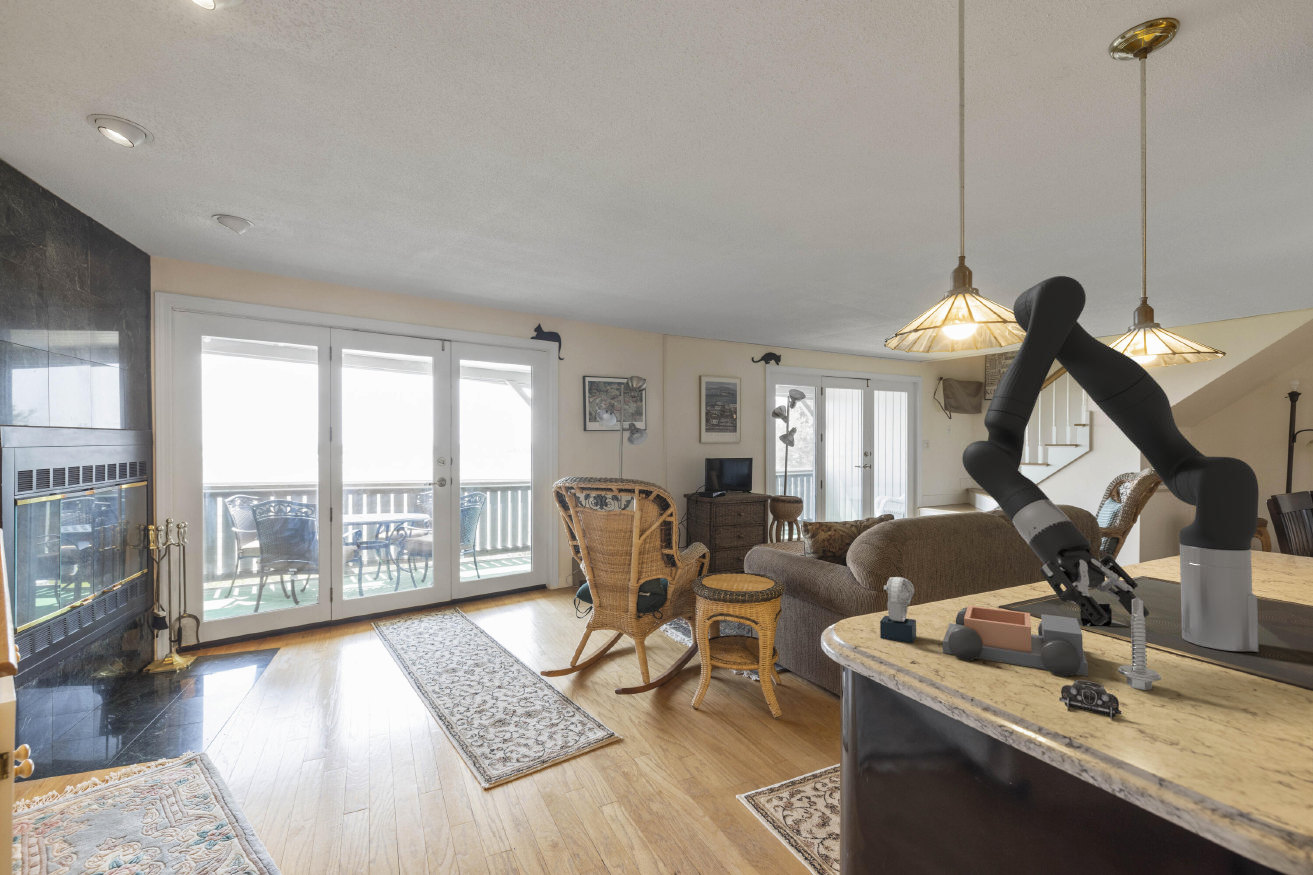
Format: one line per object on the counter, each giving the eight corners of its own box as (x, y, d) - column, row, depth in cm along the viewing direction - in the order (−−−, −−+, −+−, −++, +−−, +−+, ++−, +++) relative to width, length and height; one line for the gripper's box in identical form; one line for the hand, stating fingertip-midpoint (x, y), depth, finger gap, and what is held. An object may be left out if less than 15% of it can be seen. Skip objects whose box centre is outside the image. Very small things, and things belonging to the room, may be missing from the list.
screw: (1110, 682, 87) (1134, 678, 88) (1145, 695, 82) (1169, 691, 83) (1108, 594, 87) (1132, 592, 88) (1142, 602, 82) (1167, 600, 83)
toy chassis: (1079, 649, 101) (1078, 614, 101) (1089, 680, 87) (1088, 640, 87) (950, 630, 111) (950, 599, 111) (941, 656, 98) (941, 620, 98)
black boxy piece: (1112, 620, 120) (1112, 597, 120) (1142, 631, 113) (1142, 607, 113) (1053, 619, 120) (1053, 597, 120) (1079, 630, 113) (1078, 606, 113)
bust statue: (917, 633, 110) (916, 575, 110) (910, 645, 103) (909, 583, 103) (886, 628, 113) (885, 572, 113) (877, 640, 106) (876, 580, 106)
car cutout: (1055, 717, 77) (1055, 682, 77) (1060, 700, 82) (1060, 668, 82) (1212, 754, 67) (1211, 715, 67) (1207, 732, 72) (1206, 696, 72)
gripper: (1032, 520, 93) (1108, 611, 82) (1095, 517, 98) (1176, 602, 87) (1003, 548, 98) (1071, 637, 87) (1065, 544, 103) (1137, 628, 91)
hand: (1123, 620), depth 87 cm, fingers open, 8 cm apart
